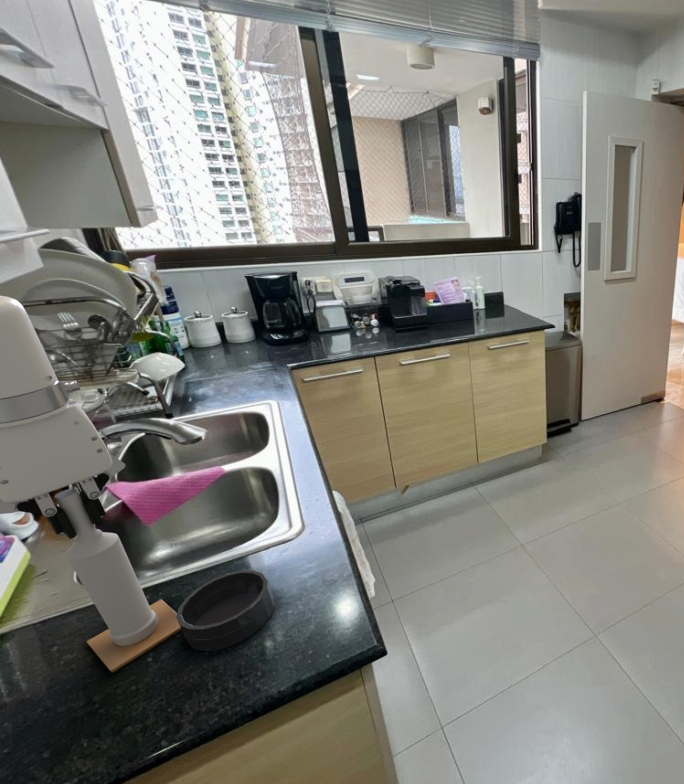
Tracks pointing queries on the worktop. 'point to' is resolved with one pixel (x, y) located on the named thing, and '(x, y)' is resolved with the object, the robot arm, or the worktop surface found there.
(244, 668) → the worktop surface
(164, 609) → the cork mat
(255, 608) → the dark grey round tray
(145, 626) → the bottle
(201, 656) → the worktop surface
